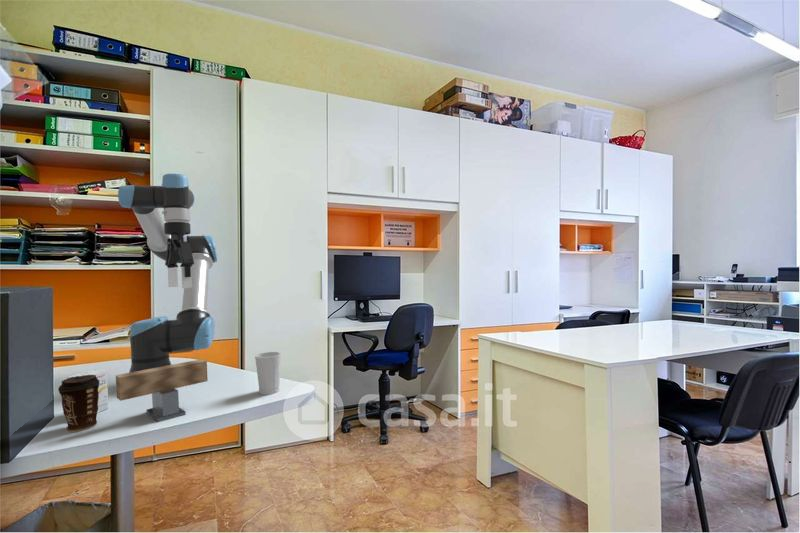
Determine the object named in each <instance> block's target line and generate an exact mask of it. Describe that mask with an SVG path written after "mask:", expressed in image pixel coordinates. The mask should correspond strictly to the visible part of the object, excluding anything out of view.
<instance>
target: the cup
mask: <svg viewBox="0 0 800 533" xmlns="http://www.w3.org/2000/svg"><path fill="white" fill-rule="evenodd" d="M281 356H282V353H281V352H279V351H266V352H260V353H258V354H255V355H254V359H255V366H256V373H257V374H256V375H257V382H258V393H259V394H260V395H274V394H277V393H278V392H280V390H281V388H280V383H281V382H280V381H281V359H282V358H281Z"/></svg>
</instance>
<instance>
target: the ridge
mask: <svg viewBox="0 0 800 533" xmlns="http://www.w3.org/2000/svg"><path fill="white" fill-rule="evenodd" d="M151 401H152V407H151V408H148V409H146V411H145V412H146V414H147V415H148V416H150V417H151V418H153V420H154V421H156V422H157V423H159V422H164V421H167V420H171V419H175V418H178V417H182V416H185V415H186V414H187V413H186V412H187V411H185V410H184V409H182V408H181V407H180V402H179V390H178V389H177V388H175V389H170V390H166V391H162V392H157V393H153V394H151Z"/></svg>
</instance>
